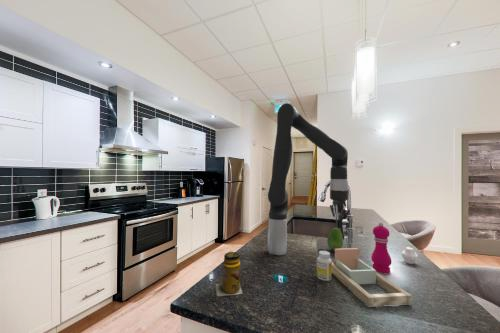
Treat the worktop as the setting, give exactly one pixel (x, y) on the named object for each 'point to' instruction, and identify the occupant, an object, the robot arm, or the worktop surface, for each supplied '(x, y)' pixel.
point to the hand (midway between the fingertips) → (339, 227)
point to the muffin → (409, 255)
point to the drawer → (354, 266)
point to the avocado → (335, 239)
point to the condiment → (230, 276)
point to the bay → (391, 298)
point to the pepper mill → (381, 250)
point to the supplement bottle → (324, 266)
